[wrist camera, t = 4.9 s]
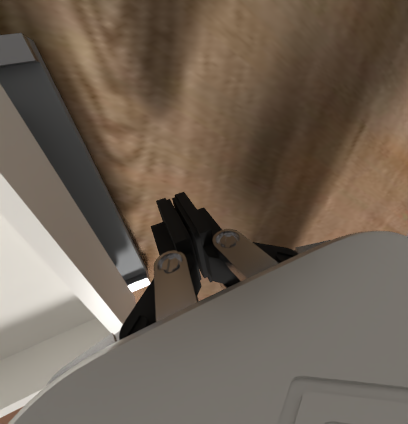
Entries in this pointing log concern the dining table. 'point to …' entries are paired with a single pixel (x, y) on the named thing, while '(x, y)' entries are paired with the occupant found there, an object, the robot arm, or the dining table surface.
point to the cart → (46, 270)
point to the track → (66, 151)
